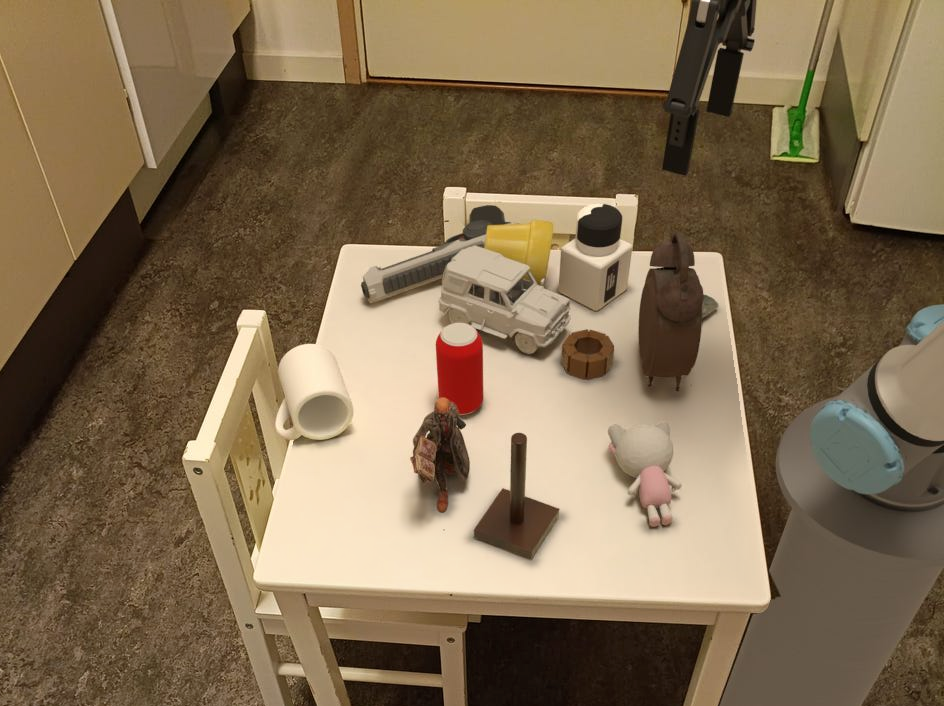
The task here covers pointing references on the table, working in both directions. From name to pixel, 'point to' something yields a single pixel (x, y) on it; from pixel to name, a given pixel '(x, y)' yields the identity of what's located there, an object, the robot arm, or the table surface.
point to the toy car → (502, 299)
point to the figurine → (441, 448)
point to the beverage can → (460, 366)
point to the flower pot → (523, 245)
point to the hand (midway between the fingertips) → (697, 141)
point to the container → (595, 258)
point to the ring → (587, 364)
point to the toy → (647, 465)
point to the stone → (708, 305)
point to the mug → (312, 394)
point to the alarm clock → (670, 312)
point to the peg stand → (517, 511)
